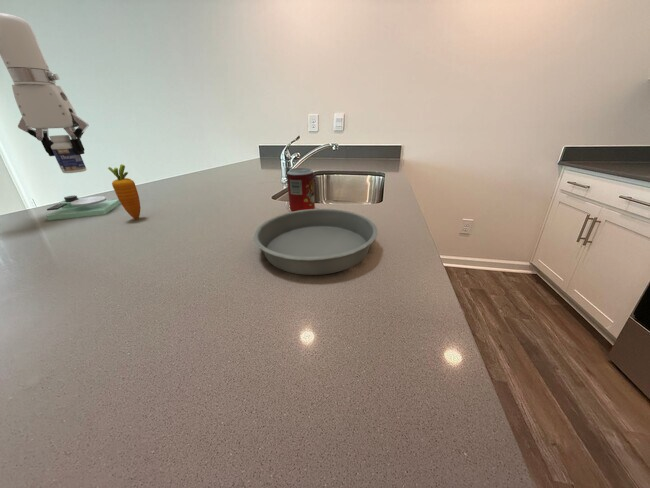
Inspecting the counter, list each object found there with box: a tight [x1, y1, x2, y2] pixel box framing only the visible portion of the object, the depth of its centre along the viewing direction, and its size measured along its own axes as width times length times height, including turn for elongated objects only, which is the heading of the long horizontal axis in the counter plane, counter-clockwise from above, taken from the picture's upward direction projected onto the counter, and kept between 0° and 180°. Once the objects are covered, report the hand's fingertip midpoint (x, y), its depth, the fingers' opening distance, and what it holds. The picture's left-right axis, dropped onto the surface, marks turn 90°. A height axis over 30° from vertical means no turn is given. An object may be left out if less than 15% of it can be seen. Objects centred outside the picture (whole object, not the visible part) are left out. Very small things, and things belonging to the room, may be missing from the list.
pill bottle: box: [49, 134, 88, 174], centre depth 72 cm, size 5×5×10 cm
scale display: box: [46, 203, 67, 211], centre depth 75 cm, size 2×5×1 cm, turn 17°
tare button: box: [63, 195, 79, 202], centre depth 81 cm, size 3×3×2 cm
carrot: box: [107, 164, 141, 221], centre depth 69 cm, size 5×5×15 cm
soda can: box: [286, 167, 316, 212], centre depth 71 cm, size 7×7×12 cm
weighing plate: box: [71, 195, 107, 206], centre depth 79 cm, size 8×8×1 cm
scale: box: [45, 197, 121, 221], centre depth 80 cm, size 14×12×3 cm
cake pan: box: [252, 208, 379, 276], centre depth 53 cm, size 25×25×4 cm
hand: (67, 154), depth 72 cm, fingers closed on pill bottle, 5 cm apart
